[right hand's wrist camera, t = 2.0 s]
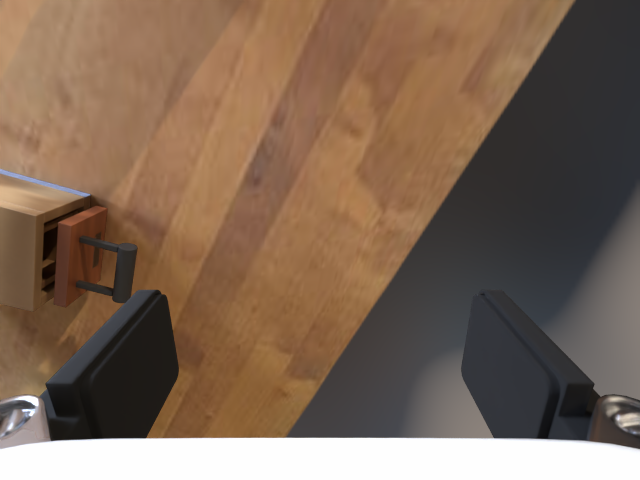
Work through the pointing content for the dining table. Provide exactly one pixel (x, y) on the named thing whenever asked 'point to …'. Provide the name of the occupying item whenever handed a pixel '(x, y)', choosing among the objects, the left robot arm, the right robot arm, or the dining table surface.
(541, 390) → the right robot arm
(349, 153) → the dining table surface
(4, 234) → the cabinet
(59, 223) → the drawer
